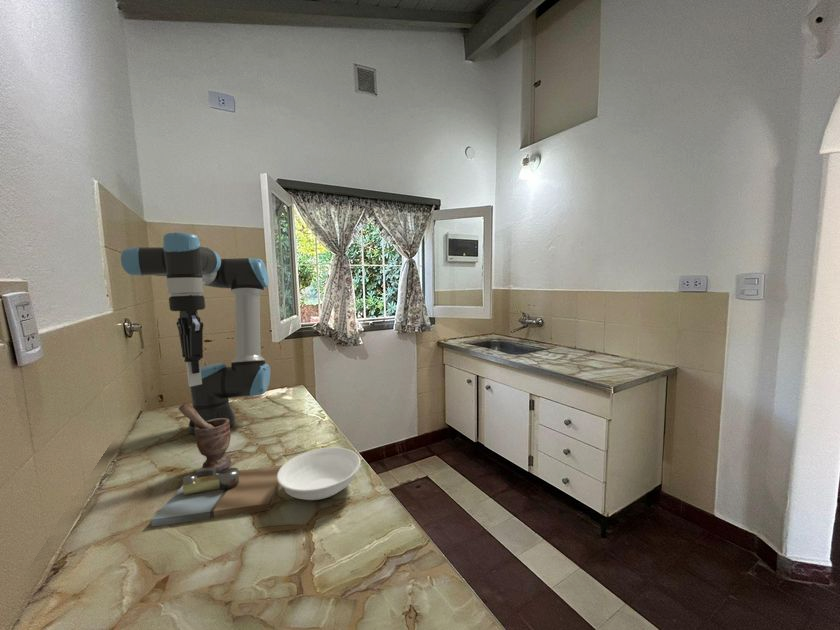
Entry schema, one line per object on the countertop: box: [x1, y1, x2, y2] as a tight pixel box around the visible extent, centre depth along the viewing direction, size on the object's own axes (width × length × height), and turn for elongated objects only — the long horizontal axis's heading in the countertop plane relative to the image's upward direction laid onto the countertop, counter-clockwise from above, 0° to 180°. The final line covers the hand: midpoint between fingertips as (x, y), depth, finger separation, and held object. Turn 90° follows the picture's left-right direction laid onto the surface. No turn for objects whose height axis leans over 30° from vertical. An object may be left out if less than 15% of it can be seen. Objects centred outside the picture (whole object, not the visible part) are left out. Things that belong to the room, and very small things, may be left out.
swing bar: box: [182, 467, 239, 495], centre depth 82 cm, size 12×4×4 cm, turn 106°
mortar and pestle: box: [178, 402, 232, 473], centre depth 94 cm, size 12×9×20 cm
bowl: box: [277, 447, 362, 501], centre depth 82 cm, size 20×20×6 cm
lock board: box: [150, 464, 284, 527], centre depth 82 cm, size 17×24×5 cm
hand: (195, 384), depth 87 cm, fingers closed
